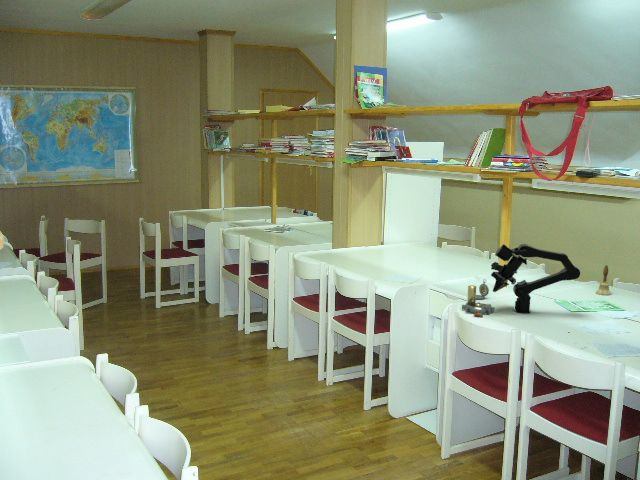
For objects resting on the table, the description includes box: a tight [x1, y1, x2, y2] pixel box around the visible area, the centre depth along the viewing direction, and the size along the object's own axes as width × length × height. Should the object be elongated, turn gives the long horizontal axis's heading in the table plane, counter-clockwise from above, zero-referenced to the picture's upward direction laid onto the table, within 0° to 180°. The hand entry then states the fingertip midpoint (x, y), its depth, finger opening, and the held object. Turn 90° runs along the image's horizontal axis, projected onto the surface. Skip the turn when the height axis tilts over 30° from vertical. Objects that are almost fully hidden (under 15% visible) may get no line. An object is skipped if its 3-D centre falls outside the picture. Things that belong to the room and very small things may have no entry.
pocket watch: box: [476, 278, 490, 300], centre depth 355 cm, size 8×8×10 cm
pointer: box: [473, 313, 484, 319], centre depth 320 cm, size 4×3×1 cm
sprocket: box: [461, 284, 496, 315], centre depth 329 cm, size 16×16×11 cm
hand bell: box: [595, 264, 612, 296], centre depth 369 cm, size 8×8×16 cm
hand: (493, 291), depth 332 cm, fingers closed
